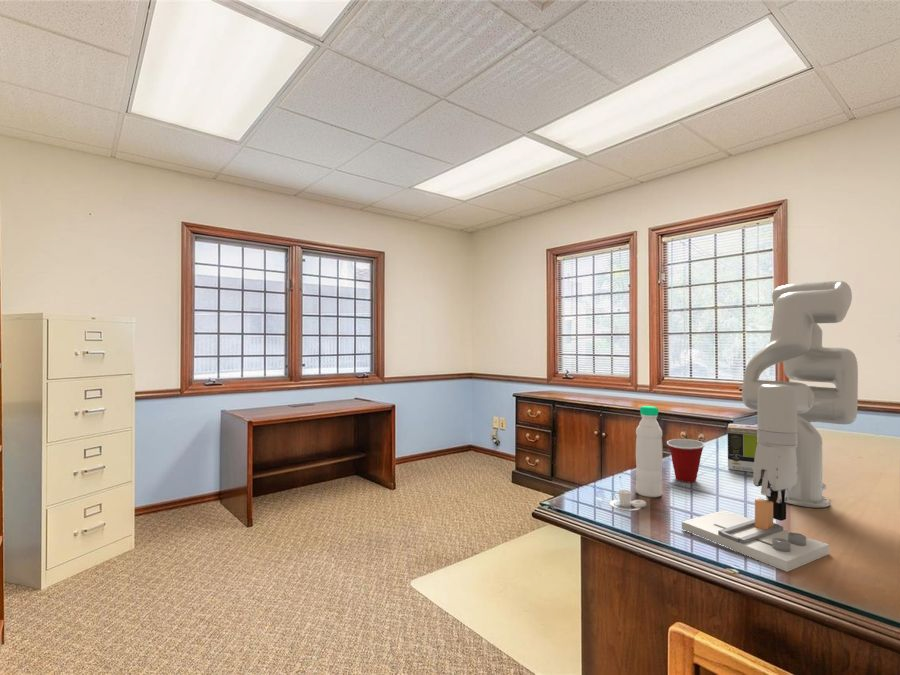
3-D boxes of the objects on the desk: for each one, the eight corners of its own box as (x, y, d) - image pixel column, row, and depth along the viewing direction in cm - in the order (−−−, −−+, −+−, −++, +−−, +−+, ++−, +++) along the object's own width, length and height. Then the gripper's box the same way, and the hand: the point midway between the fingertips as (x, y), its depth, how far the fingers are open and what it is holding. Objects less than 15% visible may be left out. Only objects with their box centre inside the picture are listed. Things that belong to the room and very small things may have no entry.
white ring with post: (648, 507, 125) (648, 491, 125) (637, 515, 119) (637, 499, 119) (616, 499, 130) (616, 485, 131) (604, 507, 125) (604, 491, 125)
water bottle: (665, 499, 130) (665, 408, 130) (638, 497, 131) (638, 407, 131) (659, 491, 137) (659, 405, 137) (633, 489, 138) (633, 404, 138)
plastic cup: (659, 477, 150) (659, 440, 150) (680, 473, 155) (680, 437, 156) (690, 487, 141) (691, 447, 141) (712, 482, 146) (712, 443, 146)
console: (723, 518, 116) (723, 504, 116) (828, 554, 97) (828, 537, 97) (681, 530, 108) (681, 515, 109) (787, 571, 89) (787, 553, 89)
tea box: (779, 469, 161) (779, 426, 161) (780, 476, 152) (780, 431, 152) (728, 463, 169) (728, 422, 169) (727, 469, 160) (727, 426, 161)
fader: (759, 524, 107) (759, 498, 107) (773, 529, 104) (773, 502, 104) (754, 526, 106) (754, 499, 106) (768, 530, 103) (768, 503, 103)
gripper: (776, 432, 114) (776, 507, 114) (741, 438, 107) (740, 518, 107) (812, 438, 108) (812, 518, 108) (776, 444, 101) (776, 530, 101)
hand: (776, 518), depth 107 cm, fingers closed
